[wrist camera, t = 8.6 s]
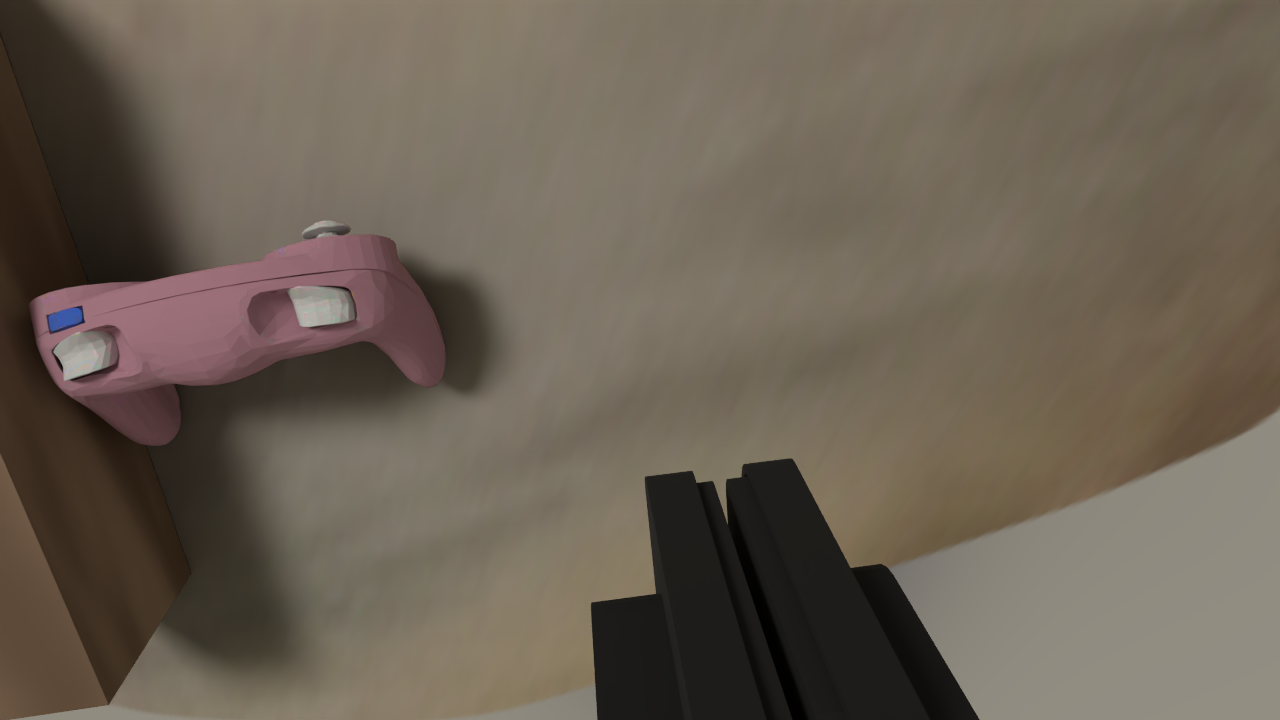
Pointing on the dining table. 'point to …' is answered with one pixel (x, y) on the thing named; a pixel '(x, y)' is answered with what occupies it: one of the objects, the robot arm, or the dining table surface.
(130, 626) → the bar
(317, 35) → the dining table surface
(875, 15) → the dining table surface
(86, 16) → the dining table surface
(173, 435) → the video game controller
